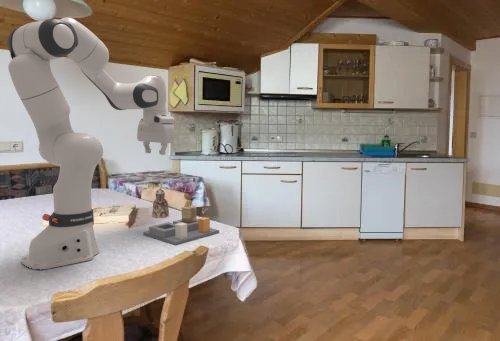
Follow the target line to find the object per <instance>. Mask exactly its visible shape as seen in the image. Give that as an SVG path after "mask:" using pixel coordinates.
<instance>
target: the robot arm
mask: <svg viewBox="0 0 500 341" xmlns="http://www.w3.org/2000/svg"><path fill="white" fill-rule="evenodd" d="M7 48H8V51H9V52H10V53H9V54H10V58H11V60H10V61H9V64H8V68H7V69H8V71H9V72H8V73H9V76H10V78H11V81H12V84H13V86H14V88H15V91H16V94H17V95H18V97H19V98H20V101H21V103H22V104H23V106H24V108H25V110H26V112H27V113H28V115H29V117H30V119H31V121H32V123H33V126H34V129H35V131H36V136H37V138H38V142H39V144H38V152H39V154H40V156H41V158H42V159H43V160H44V161H46V162H48V163H49V164H51V165H53V166H56V167H59V173H58V178H57V181H56V182H55V184H54V185H53V188H52V199H53V212H52V213H51V214H48V213H44V214H43V215H42V217H41V218H42V220H43V221H46V222H48V225H47V226H46V227H45V228H43V230H42V231H40V233H38V234H37V235H36V236H35V237H34V238H33V239H31V240H30V244H29V248H28V254H26V255H24V256H22V257H21V259H20V263H21V264H22V265H23V264H24V265H25V266H24V265H23V266H24V267H26V266H27V267H26V268H28V267H29V269H31V268H32V270H36V269H40V271H43V270H47V269H53V268H58V267H62V266H68V265H72V264H73V265H74V264H77V263H82V262H89V261H92V260H93V259H94V257H95V256H96V255H98V254H99V252H100V249H99V246H98V243H97V241H96V237H95V236H96V235H95V230H94V223H95V219H94V218H95V216H94V209H93V206H92V205H93V204H92V183H93V182H92V181H93V178H94V173H95V170H96V168H97V166H98V165H99V163H101V160H102V159H103V155H104V149H103V145H102V143H101V142H100V140H98V139H97V138H96V137H94V136H92V135H90V134H88V133H85V132H84V133H83V132H75V131H74V130H73V129H72V125H71V120H70V114H71V108H70V105H69V103H68V101H67V100H66V98H65V95H64V93H63V91H62V89H61V88H60V85H59V83H58V81H57V80H56V78H55V76H54V74H53V72H52V70H51V61H53V60H57V59H59V58H64V57H68V58H69V59H70V60H71V61H72V62H73V63H74V64H75V65H77V66H78V67H79V68H80V70H81V72H82V74H84V75H85V77H86V78H87V79H88V80H89V81H90V82H91V83H92V84H93V85H94V86H95V87H96V88H97V89H98V90H99V91H100V92H101V93H102V94H103V95H104V97H105V98H106V100H107V102H108V104H109V105H110V106H111V107H112V108H113V109H114V110H116V111H117V110H118V111H125V110H143V111H142V118H140V120H139V122H138V125H137V133H136V139H137V141H138V142H142V144H143V147H144V149H145V150H144V153H145V154H152V148H151V147H150V144H151V143H158V144H159V143H160V149H159V155H161V156H165V155H166V150H167V148H168V144H172V143H174V141H175V136H176V135H175V125H174V124H175V121H176V120H175V118H174V117H173V116H171V115H170V114H167V107H166V102H167V86H166V83H165V80H164V78H162V77H161V76H158V75H154V74H152V75H151V74H147V75H145V76H144V78H142V79H140V80H139V81H136V82H130V83H129V82H128V83H124V82H123V83H122V82H118V81H116V80H114V79H113V78H112V76H110V74H109V73H108V72H107V71H106V70H105V68H106V66H107V65H108V62H109V59H110V52H109V49H108V48H107V46H106V44H105V43H104V42H103V41H102V40H100V38H99V37H98V36H97V35H96V34H95V33H94V32H92V31H91V30H90V29H89V28H87V27H86V26H85V25H84V24H82V23H81V22H79V21H78V20H76V19H74V18H73V17H67V16H66V17H62V18H60V19H58V18H47V19H45V20H40V21H39V20H38V21H30V22H28V23H26V24H23V25H21V26H18V27H15V28H14V29H12V31H11V32H10V33H9V34H8V37H7ZM42 269H43V270H42Z"/></svg>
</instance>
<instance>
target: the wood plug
mask: <svg viewBox="0 0 500 341" xmlns="http://www.w3.org/2000/svg"><path fill="white" fill-rule="evenodd" d="M197 212H198V211H197V207H196V206H192V205H188V206H187V205H186V206H182V207H181V219H182V222H184V223H188V224H189V223H193V222H197V219H198V218H197V217H198V216H197V214H198V213H197Z"/></svg>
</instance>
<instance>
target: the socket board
mask: <svg viewBox="0 0 500 341" xmlns="http://www.w3.org/2000/svg"><path fill="white" fill-rule="evenodd" d="M210 223H211V219H210V218H209V217H206V216H205V217H204V216H203V217H199V218H197V222H193V223H189V224H188V223H184V222H182V218H181V219H177V220H173V221H172V222H169V221H168V222H164V223H160V224H156V225H151V226H149V227H148V230H147V231H144V232H143V236H146V237H149V238H152V239H155V240H159V241H162V242H163V243H164V242H165V243H167V244H170V245H174V246H178V245H182V244H185V243H188V242H192V241H196V240H199V239H202V238H205V237H209V236H213V235H215V234H216V233H217V234H219V233H220V230H219V229H215V228H212V227H211V224H210Z"/></svg>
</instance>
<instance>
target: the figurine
mask: <svg viewBox="0 0 500 341" xmlns="http://www.w3.org/2000/svg"><path fill="white" fill-rule="evenodd" d="M165 196H166V195H165V191H164V190H163V189H162V188H158V190H156V192H155V199H154V200H153V202H152V214H151V215H152V218H156V219H163V218H168V217H169V215H170V214H169V213H170V212H169V211H170V210H169V204H168V203H169V202H168V200H167V199H165Z"/></svg>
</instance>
